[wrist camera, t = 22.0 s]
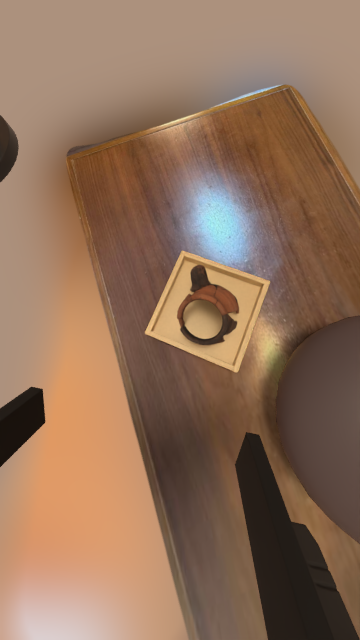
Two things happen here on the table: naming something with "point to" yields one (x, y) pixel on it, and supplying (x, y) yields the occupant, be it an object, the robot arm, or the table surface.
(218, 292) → the pottery mug
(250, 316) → the wooden tray
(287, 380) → the smooth stone
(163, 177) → the table surface
